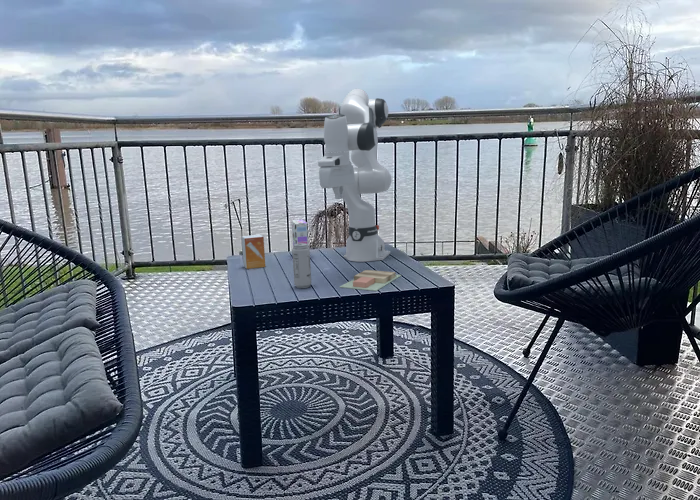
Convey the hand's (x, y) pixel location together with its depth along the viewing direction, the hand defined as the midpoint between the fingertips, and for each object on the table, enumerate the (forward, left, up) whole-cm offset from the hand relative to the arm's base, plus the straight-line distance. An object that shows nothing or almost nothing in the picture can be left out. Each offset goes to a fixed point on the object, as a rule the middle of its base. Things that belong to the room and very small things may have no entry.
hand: (339, 198), depth 190 cm
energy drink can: (+18, -6, -29) cm, 35 cm away
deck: (+1, +14, -29) cm, 32 cm away
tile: (+10, +14, -29) cm, 33 cm away
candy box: (-24, -34, -29) cm, 51 cm away
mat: (+4, +14, -29) cm, 32 cm away
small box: (-2, -43, -29) cm, 52 cm away
